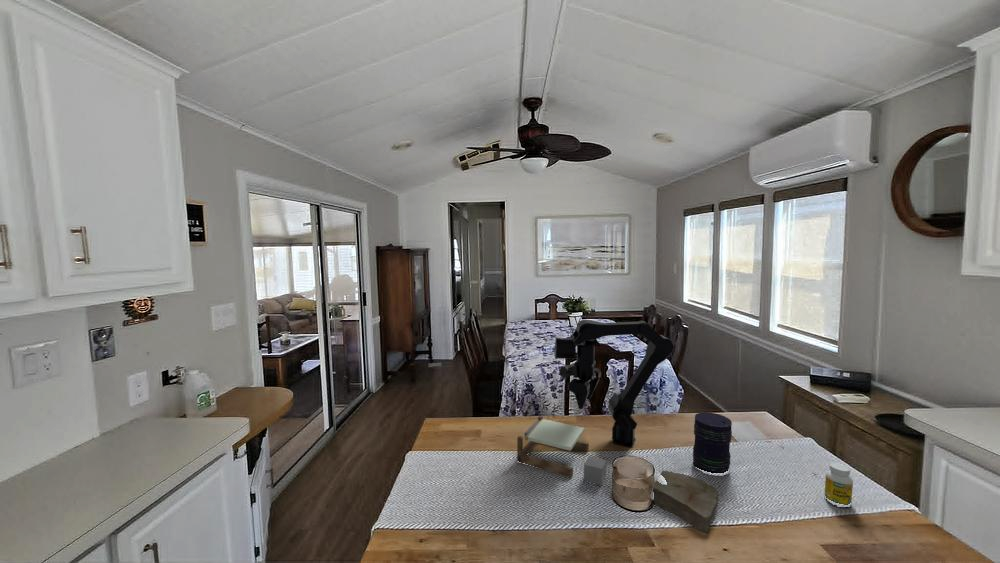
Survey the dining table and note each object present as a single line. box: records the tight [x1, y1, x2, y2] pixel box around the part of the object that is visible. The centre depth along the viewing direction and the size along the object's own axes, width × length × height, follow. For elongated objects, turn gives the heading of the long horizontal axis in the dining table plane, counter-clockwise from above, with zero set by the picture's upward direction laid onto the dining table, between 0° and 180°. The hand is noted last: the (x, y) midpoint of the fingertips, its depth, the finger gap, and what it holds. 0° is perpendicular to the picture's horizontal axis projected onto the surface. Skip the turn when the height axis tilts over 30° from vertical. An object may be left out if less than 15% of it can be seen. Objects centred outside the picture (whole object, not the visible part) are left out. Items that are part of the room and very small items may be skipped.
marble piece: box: [652, 470, 720, 533], centre depth 103 cm, size 17×15×4 cm
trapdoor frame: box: [516, 415, 590, 478], centre depth 126 cm, size 17×17×8 cm
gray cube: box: [583, 455, 607, 486], centre depth 114 cm, size 5×5×5 cm
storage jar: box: [692, 411, 733, 473], centre depth 119 cm, size 10×10×15 cm
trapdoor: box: [524, 418, 585, 451], centre depth 125 cm, size 16×14×1 cm
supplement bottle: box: [824, 462, 854, 505], centre depth 103 cm, size 5×5×10 cm
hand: (584, 403), depth 135 cm, fingers open, 9 cm apart
